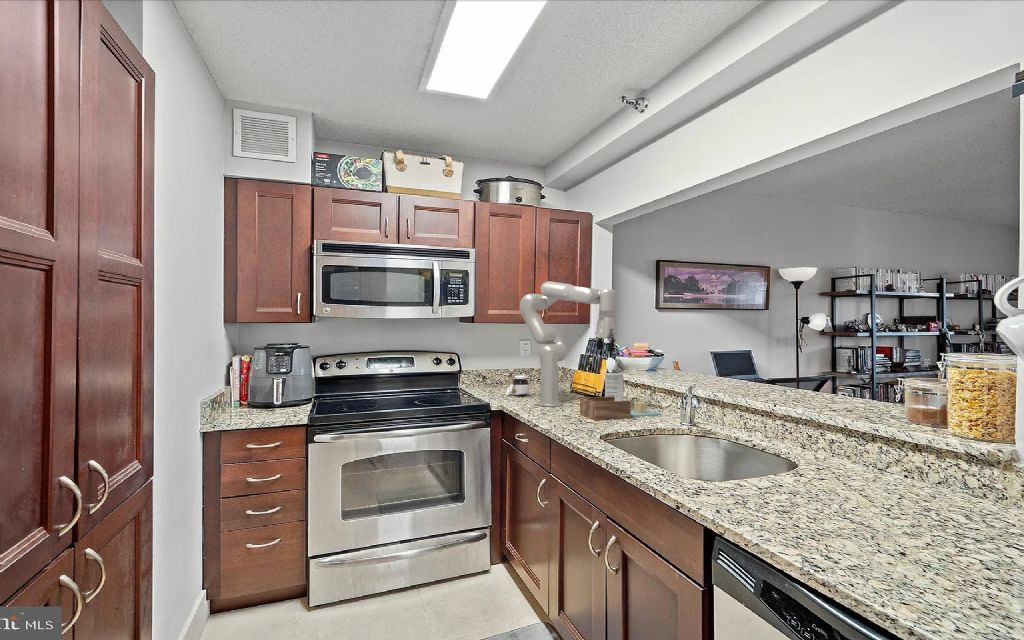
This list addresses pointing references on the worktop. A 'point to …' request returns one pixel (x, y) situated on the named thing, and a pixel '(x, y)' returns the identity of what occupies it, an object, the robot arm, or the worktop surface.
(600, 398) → the slide box
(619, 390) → the supplement box
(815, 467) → the worktop surface
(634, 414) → the cover plate
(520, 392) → the spread jar
